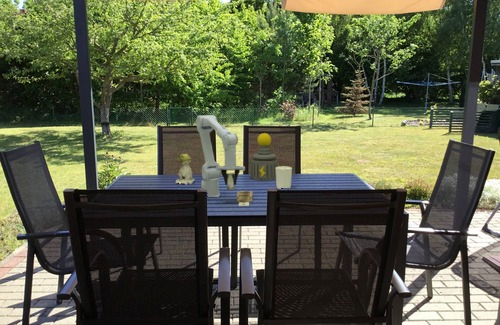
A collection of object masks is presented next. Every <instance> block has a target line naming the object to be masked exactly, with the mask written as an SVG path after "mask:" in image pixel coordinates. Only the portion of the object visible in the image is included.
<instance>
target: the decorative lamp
mask: <svg viewBox="0 0 500 325" xmlns="http://www.w3.org/2000/svg"><path fill="white" fill-rule="evenodd" d="M271 142H272V137H271V136H270V134H268V133H266V132H264V133H261V134H259V135H258V136H257V144H258V146H259V148H258V151H257V153H254V154H253V155H252V158H251V161H250V163H249V166H250V167H249V168H250V169H249V172H250V177H251V179H252V180H254V181H259V182H260V181H264V182H265V181H267V182H268V181H276V169H275V168H276V167H280V163H279V161H278V159H277V155H276V154H275V153H272V151H271V148H270V145H271Z"/></svg>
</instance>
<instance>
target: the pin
mask: <svg viewBox="0 0 500 325" xmlns="http://www.w3.org/2000/svg"><path fill="white" fill-rule="evenodd" d="M234 182H235V174H234V173H233V172H227V185H226V190H227V191H234V190H236V189H235V188H236V187H235V186H236V185H234Z"/></svg>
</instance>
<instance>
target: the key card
mask: <svg viewBox="0 0 500 325" xmlns="http://www.w3.org/2000/svg"><path fill="white" fill-rule="evenodd" d="M249 205H250V202H238V206H239V207H249Z"/></svg>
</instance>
